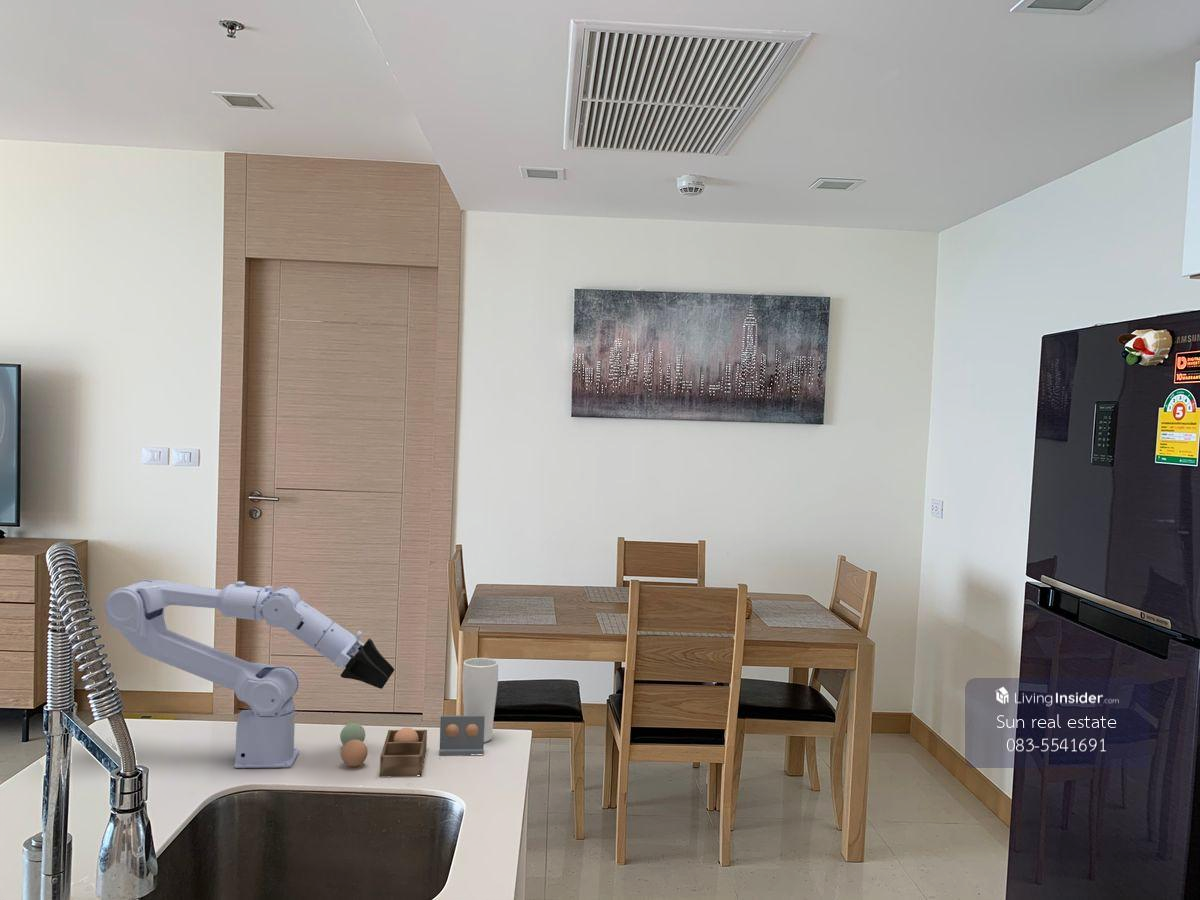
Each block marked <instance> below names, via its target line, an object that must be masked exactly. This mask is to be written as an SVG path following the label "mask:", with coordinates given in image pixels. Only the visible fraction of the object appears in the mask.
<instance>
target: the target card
mask: <svg viewBox="0 0 1200 900" xmlns="http://www.w3.org/2000/svg"><path fill="white" fill-rule="evenodd" d="M484 720H485V715H464V714H463V715H460V714H459V715H440V722H439V723H440V724H439V725H440V727H439V751H438V756H439V755H463V756H472V755H471V754H483V755H484V744H485V742H484Z"/></svg>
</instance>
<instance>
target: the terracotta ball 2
mask: <svg viewBox="0 0 1200 900" xmlns="http://www.w3.org/2000/svg"><path fill="white" fill-rule="evenodd" d="M398 730H399V731H398V732H397V733H396V734H395V736H394V741H393V742H419V737H418V734H417V732H416V731H415V730H416V729H413V728H411V727H401V728H400V729H398Z"/></svg>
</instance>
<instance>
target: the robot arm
mask: <svg viewBox="0 0 1200 900" xmlns="http://www.w3.org/2000/svg"><path fill="white" fill-rule="evenodd" d="M273 588H274V587H273V586H272V585H265V586H264V587H261V586H252V585H246V581H236V582H235V583H230V584H228V585H227V586H226V587H224V588H222V589H218V588H212V587H207V586H200V585H194V584H189V583H182V582H177V581H171V580H164V579H157V580H152V579H140V580H138V581H136V582H134V583H132V584H129V585H127V586H125V587H119V588H117V589H114V590H112V591H111V592H110V593H109V594H108V595H107V597H106V599H105V602H104V611H105V615H106V619H107V623H108V626H110V627H112V628H113V629H116V630H118V631H119V632H120V633H121V634H122V636H123V637H124V638H125V640H127V642H128V643H129V644H130V645H131V646H132V647H133V648H134V650H136V651H137V652H138V653H140V654H141V655H144V656H146V657H149V658H152V659H154V660H157V661H158V662H162V663H163V664H167V665H169V666H171V667H175V668H176V669H179V670H182V671H184V672H186V673H189V674H191V675H194V676H197V677H200V678H202V679H204V680H207V681H209V682H211V683H214V684H217V685H219V686H222V687H225V688H227V689H230V690H232V691H233V692H234V693H235V695H236V698H237V700H239V701H241V702H244V703H245V704H247V705H248V706H249V707H250V708H251V709H243V710H241V711H240V713H239V715H238V717H237V722H236V730H235V760H234V761H235V762H234V765H233V768H235V769H236V768H237V769H238V768H239V769H240V768H241V769H242V768H244V769H246V768H248V769H249V768H253V769H254V768H259V769H260V768H291V767H293V764H294V763H295V760H296V758H297V757H298V755H299V754H300V748H295V727H296V726H295V723H296V722H295V720H296V705H295V703H294V700H293V696H294V695H296V693H297V692H298V690H299V686H300V680H299V677H298V674H297V673H296V671H295V670H294V669H293V668H291V667H290V666H286V665H275V666H274V665H270V664H267V663H264V662H263V663H262V662H250V661H248V660H244V659H242V658H239V657H237V656H235V655H232V654H229V653H227V652H224V651H222V650H219V649H216V648H215V647H212V646H209V645H207V644H204V643H203V642H200V641H198V640H194V639H192V638H189V637H187V636H185V635H182V634H179V633H177V632H174V631H173V630H172V631H171V630H169V629H168V628H167V625H166V620H165V608H166V607H168V606H180V607H181V606H182V607H183V606H184V607H191V608H193V607H195V608H209V609H217V610H218V611H219V612H220V614H221V615H222V616H223V617H227V618H234V619H235V618H236V619H242V620H243V619H244V620H251V621H259V622H261V621H263V620H265V621H266V625H267V626H270V627H272V628H283V629H284V630H286V631H287V632H288V633H290V634H291V635H292V636H293V637H295V638H297V639H298V640H300V641H301V642H302V643H304V644H305V645H307V646H308V647H310V648H312V650H315V651H316V652H317V653H319V654H320V655H321V656H323V657H325V658H326V659H327V660H329V661H331V663H334V666H336V667H338V668H339V667H340V668H342V669H343V671H342V672H341V674H340V675H339V676H340V677H341V678H343V679H348V680H349V679H350V680H356V681H359V682H362V683H364V684H367V685H370V686H372V687H375V688H378V689H381V690H382V689H383V688H384V686H385V685H386V684H387V682H388V680H390V677H391V676H392V674H394V672H395V670H396V669H395V668H394V667H393V665H392V664H390V662H389V661H387V659H386V658H385V657H384V656H383V655H382V653H381V652H379V650H378V648H377V647H376V645H375V643H374V641H373V639H371V638H368V639H367V640H366V642H365V643H363V642H362V641H360V637H361V636H362V634H363V632H362V631H360V630H359V631H357V633H356V634H355V635H354V634H353V633H351V632H350V631H348V630H347V629H345V628H344V627H343V626H341V625H339V624H338V622H335V621H334V620H333V619H331V618H329V617H328V616H327V615H325V614H324V613H322V612H321V611H319V610H318V609H317V608H315V607H313V606H311V605H310V604H308V603H306V601H304V600H303V598H302V596H301V594H300V593H299V592H298V591H297V590H295V589H294V588H291V587H288V586H280V587H278V588H276V589H275V590H274V589H273Z"/></svg>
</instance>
